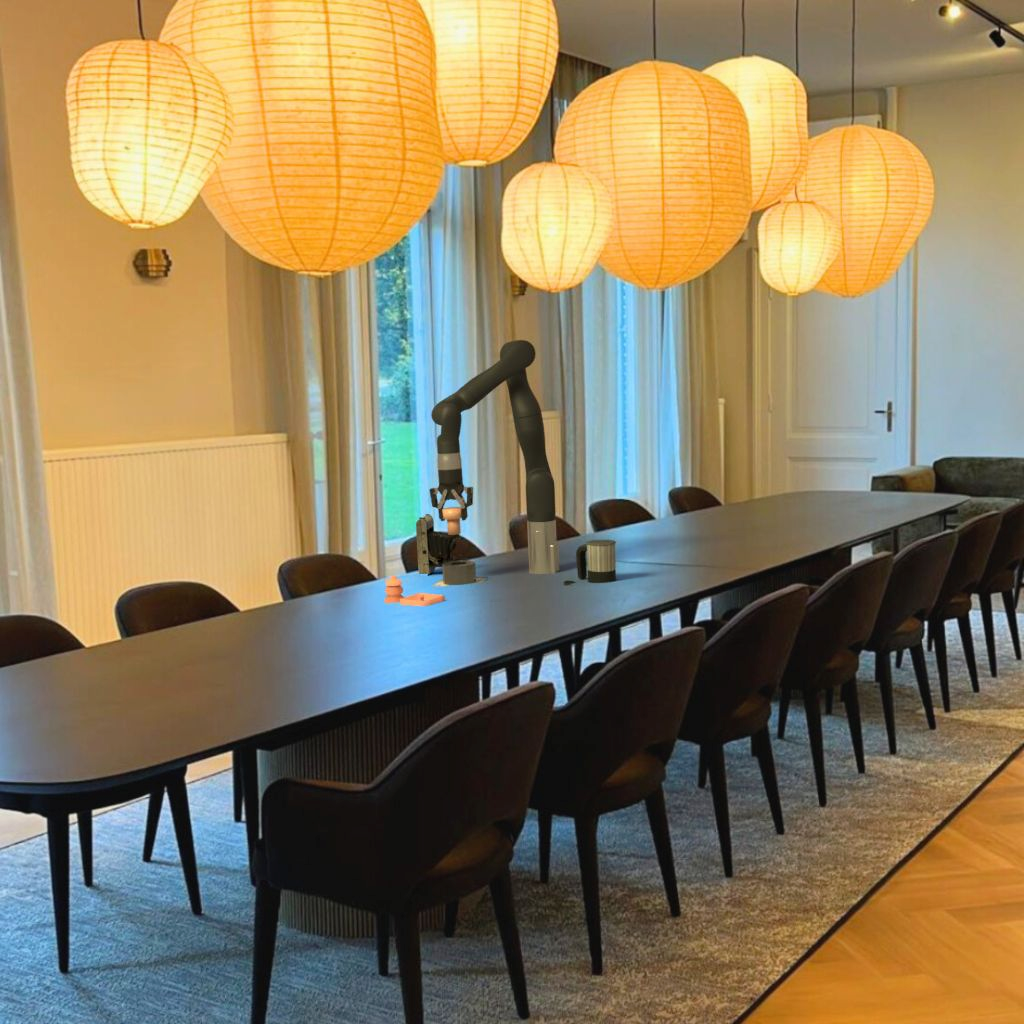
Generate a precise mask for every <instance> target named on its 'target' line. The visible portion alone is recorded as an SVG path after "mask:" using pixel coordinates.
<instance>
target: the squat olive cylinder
mask: <svg viewBox="0 0 1024 1024" xmlns="http://www.w3.org/2000/svg"><path fill="white" fill-rule="evenodd" d="M441 568H442V580H443V583H444V584H447V585H450V586H462V585H463V586H464V584H465V585H471V584H475V583H477V582H476V578H477V575H476V574H477V572H476V562H475V561H473V560H469V561H464V560H459V561H450V562H445V563H443V564H442V567H441ZM474 582H475V583H474Z"/></svg>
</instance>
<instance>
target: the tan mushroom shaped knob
mask: <svg viewBox="0 0 1024 1024" xmlns="http://www.w3.org/2000/svg"><path fill="white" fill-rule="evenodd" d="M461 509H462V507H461V506H451V507H443V509H442V512H443V519H445V520H446V525H447V534H449V535H452V536H453V535H456V534H459V535H460V534H461V532H462V531H461V519H462V516H461Z"/></svg>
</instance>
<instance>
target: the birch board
mask: <svg viewBox="0 0 1024 1024" xmlns="http://www.w3.org/2000/svg"><path fill="white" fill-rule="evenodd" d="M487 580H488V578H487V577H476V582H474V583H473V584H475V583H481V582H485V581H487ZM433 585H435V586H433ZM438 585H441V586H440V587H449V586H451V585H447V584H444V583H443V579H441V580H439V581H437V582H436V583H434V584H432V585H431V587H439V586H438Z"/></svg>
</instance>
